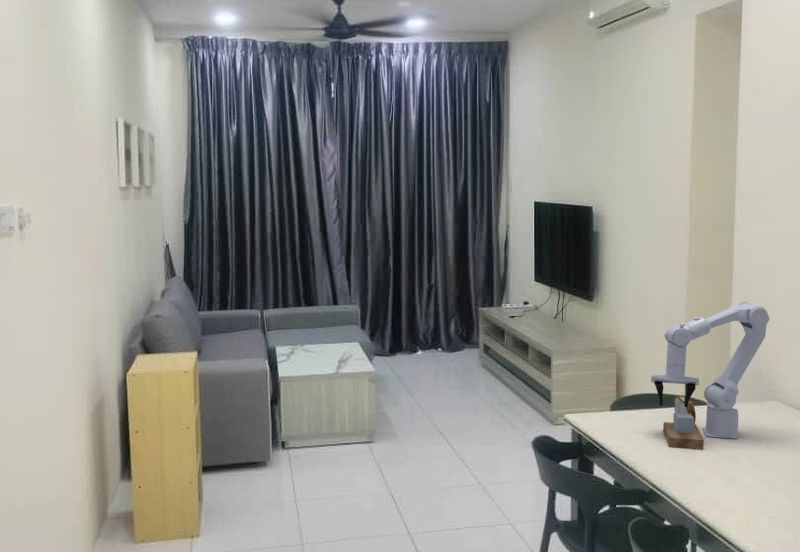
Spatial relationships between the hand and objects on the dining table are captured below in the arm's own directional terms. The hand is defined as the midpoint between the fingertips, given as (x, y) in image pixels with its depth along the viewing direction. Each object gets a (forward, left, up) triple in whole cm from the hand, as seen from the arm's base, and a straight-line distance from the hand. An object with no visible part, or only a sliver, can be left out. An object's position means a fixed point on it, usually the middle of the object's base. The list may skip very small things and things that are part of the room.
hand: (673, 405), depth 260 cm
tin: (-6, -16, -10) cm, 20 cm away
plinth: (-3, +4, -10) cm, 11 cm away
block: (-3, +4, -7) cm, 9 cm away
